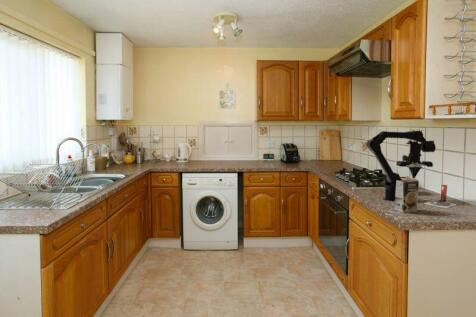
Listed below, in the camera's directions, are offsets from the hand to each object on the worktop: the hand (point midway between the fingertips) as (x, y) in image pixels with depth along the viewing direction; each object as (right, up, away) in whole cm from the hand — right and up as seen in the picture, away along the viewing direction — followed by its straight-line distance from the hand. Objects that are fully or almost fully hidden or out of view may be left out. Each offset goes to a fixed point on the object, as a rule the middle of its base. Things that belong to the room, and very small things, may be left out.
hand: (413, 178), depth 204 cm
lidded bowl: (+6, -11, +20) cm, 24 cm away
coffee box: (-16, -16, -24) cm, 33 cm away
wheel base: (+10, -14, -10) cm, 20 cm away
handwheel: (+10, -14, -10) cm, 20 cm away
